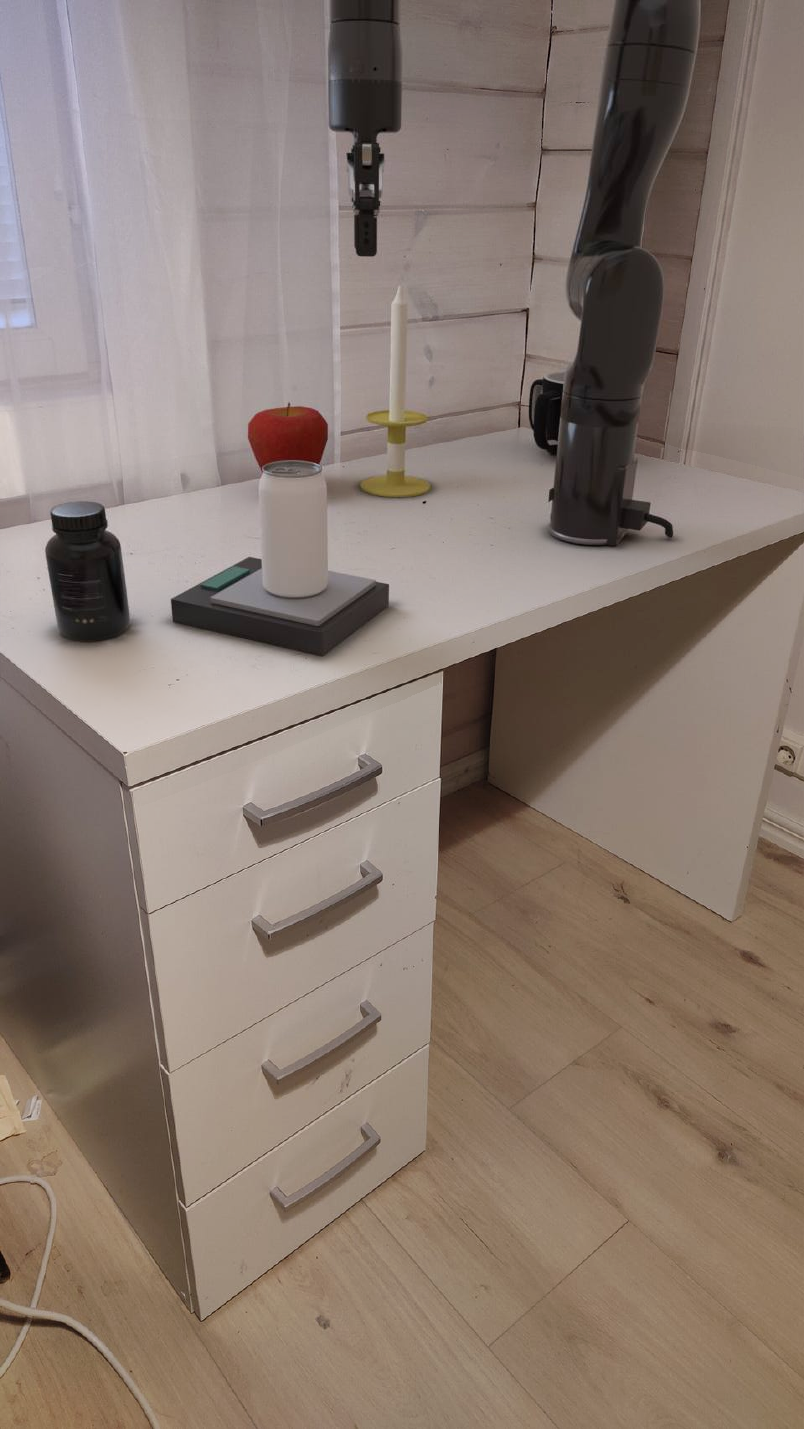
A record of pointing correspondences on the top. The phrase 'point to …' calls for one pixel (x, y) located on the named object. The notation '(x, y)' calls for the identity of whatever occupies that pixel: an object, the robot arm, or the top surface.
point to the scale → (280, 608)
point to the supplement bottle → (86, 573)
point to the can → (293, 529)
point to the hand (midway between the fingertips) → (365, 253)
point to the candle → (396, 416)
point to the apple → (288, 435)
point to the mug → (546, 410)
